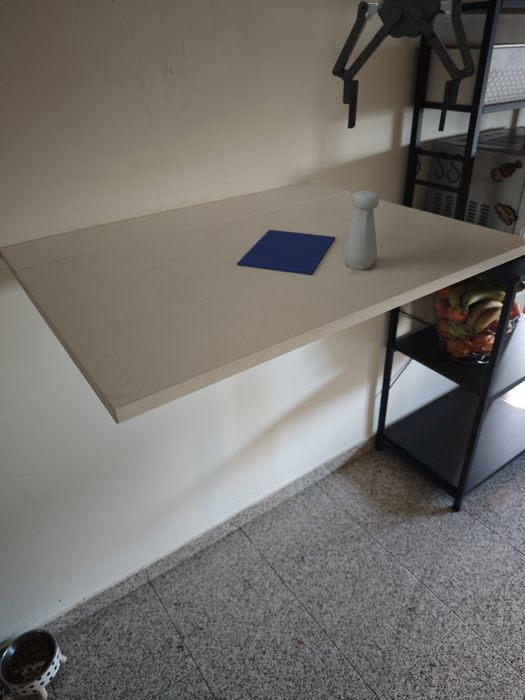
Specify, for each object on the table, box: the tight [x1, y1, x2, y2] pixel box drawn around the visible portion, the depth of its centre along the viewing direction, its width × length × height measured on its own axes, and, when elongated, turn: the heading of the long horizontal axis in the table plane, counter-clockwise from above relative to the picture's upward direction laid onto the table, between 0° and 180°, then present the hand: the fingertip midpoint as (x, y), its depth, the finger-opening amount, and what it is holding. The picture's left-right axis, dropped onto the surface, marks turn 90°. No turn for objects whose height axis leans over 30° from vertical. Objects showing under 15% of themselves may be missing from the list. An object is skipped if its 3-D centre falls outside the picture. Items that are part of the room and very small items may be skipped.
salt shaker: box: [343, 189, 380, 271], centre depth 86 cm, size 6×6×13 cm
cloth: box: [236, 229, 336, 276], centre depth 95 cm, size 14×18×1 cm
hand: (395, 128), depth 77 cm, fingers open, 13 cm apart
